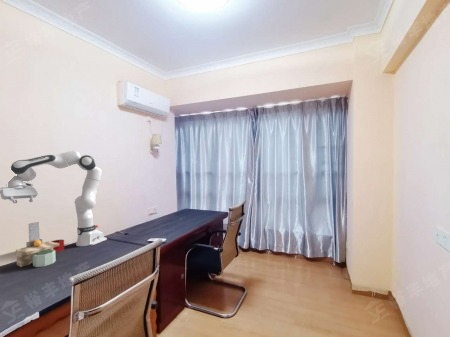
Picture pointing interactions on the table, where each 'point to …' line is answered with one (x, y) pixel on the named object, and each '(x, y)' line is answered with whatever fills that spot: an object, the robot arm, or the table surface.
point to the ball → (37, 243)
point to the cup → (44, 258)
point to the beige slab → (32, 252)
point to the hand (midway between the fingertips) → (23, 202)
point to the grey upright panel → (33, 234)
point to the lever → (61, 245)
